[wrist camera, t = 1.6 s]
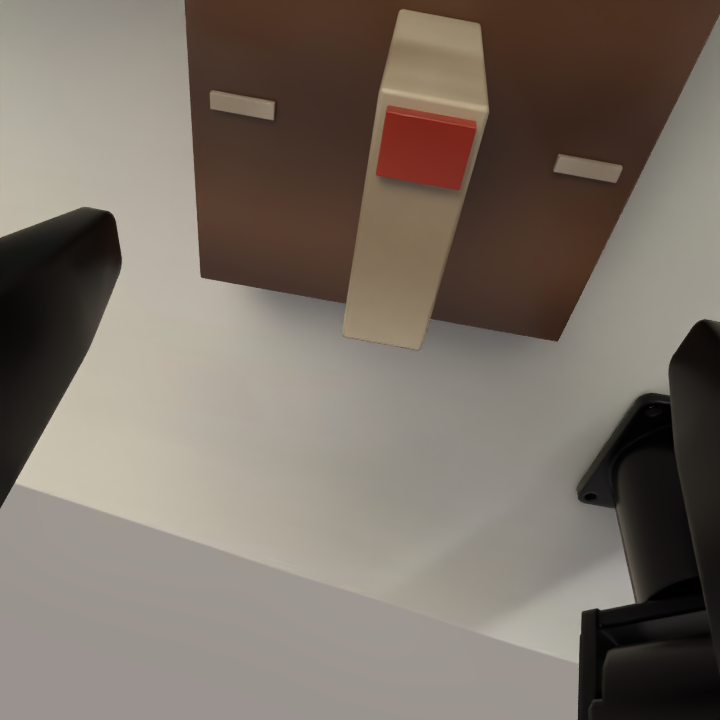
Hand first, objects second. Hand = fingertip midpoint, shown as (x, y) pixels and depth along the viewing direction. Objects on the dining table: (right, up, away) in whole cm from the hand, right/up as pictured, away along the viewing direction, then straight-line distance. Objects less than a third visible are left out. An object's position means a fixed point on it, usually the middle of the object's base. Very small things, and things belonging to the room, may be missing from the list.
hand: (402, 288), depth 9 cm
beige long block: (+1, +4, +4) cm, 5 cm away
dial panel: (+1, +6, +6) cm, 9 cm away
